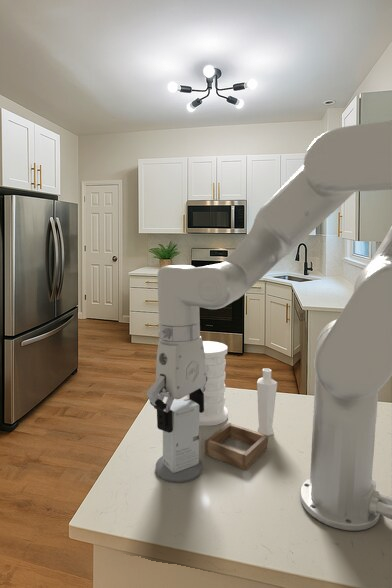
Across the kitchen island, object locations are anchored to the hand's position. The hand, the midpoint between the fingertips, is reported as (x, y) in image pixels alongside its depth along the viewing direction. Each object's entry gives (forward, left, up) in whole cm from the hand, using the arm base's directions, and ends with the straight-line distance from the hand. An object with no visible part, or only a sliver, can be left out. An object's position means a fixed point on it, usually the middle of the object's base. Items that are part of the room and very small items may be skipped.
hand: (181, 420), depth 72 cm
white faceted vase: (-6, -23, -10) cm, 26 cm away
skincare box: (+1, 0, -9) cm, 9 cm away
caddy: (-5, -12, -10) cm, 17 cm away
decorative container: (+10, -22, -10) cm, 26 cm away
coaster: (+1, 0, -10) cm, 10 cm away
